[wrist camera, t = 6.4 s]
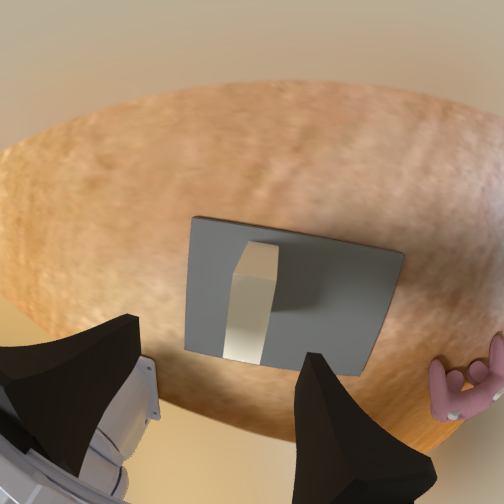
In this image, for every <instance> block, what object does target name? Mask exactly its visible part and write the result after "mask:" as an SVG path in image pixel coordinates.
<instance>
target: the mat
mask: <svg viewBox="0 0 504 504" xmlns="http://www.w3.org/2000/svg"><path fill="white" fill-rule="evenodd" d="M248 241H254V242H260V243H265V244H271V245H277V246H279V252H278V268H277V281H276V286H275V292H274V297H273V302H272V307H271V312H270V317H269V322H268V327H267V332H266V336H265V341H264V346H263V351H262V355H261V360H260V365H261V366H267V367H274V368H281V369H288V370H295V371H301V369H302V366H303V363H304V360H305V357H306V354H307V352H313V353H321V354H322V355H323V357H324V358H325V360H326V361H327V363H328V365H329V366H330V368H331V369H332V371H333V372H334V374H335V375H345V376H360V375H361V372H362V370H363V368H364V366H365V364H366V362H367V359H368V357H369V355H370V352H371V350H372V348H373V345H374V343H375V341H376V338H377V336H378V333H379V331H380V328H381V326H382V323H383V320H384V318H385V315H386V312H387V309H388V307H389V304H390V301H391V298H392V295H393V292H394V289H395V286H396V283H397V280H398V277H399V273H400V270H401V267H402V263H403V260H404V256H405V255H404V254H403V253H401V252H396V251H391V250H386V249H381V248H376V247H371V246H366V245H361V244H355V243H350V242H345V241H339V240H334V239H329V238H323V237H318V236H312V235H306V234H301V233H295V232H289V231H283V230H278V229H272V228H266V227H260V226H253V225H247V224H241V223H235V222H228V221H222V220H216V219H209V218H202V217H196V216H194V217H192V221H191V232H190V244H189V257H188V272H187V289H186V311H185V348H184V350H188V351H192V352H196V353H200V354H205V355H209V356H214V357H218V358H223V352H224V343H225V335H226V326H227V318H228V310H229V301H230V293H231V285H232V278H233V272H234V270H235V268H236V266H237V264H238V262H239V260H240V258H241V256H242V254H243V252H244V250H245V248H246V246H247V243H248ZM223 359H225V358H223ZM228 360H230V359H228ZM233 361H236V360H233ZM238 362H241V361H238ZM244 363H246V362H244ZM249 364H252V363H249ZM255 365H258V364H255Z"/></svg>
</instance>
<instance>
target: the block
mask: <svg viewBox="0 0 504 504" xmlns="http://www.w3.org/2000/svg"><path fill="white" fill-rule="evenodd" d="M278 252H279V246H277V245H271V244H265V243H260V242H254V241H248V243H247V246H246V248H245V250H244V252H243V254H242V256H241V258H240V260H239V262H238V264H237V266H236V268H235V270H234V272H233V278H232V285H231V293H230V301H229V310H228V318H227V326H226V335H225V343H224V352H223V358H225V359H230V360H236V361H241V362H246V363H252V364H258V365H260V360H261V355H262V351H263V346H264V341H265V336H266V332H267V327H268V322H269V317H270V312H271V307H272V302H273V297H274V292H275V286H276V281H277V268H278Z"/></svg>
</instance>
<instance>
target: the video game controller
mask: <svg viewBox="0 0 504 504" xmlns="http://www.w3.org/2000/svg"><path fill="white" fill-rule="evenodd" d="M466 378H467V380H468V382H469V383H470V384H472V385H473V386H474V387H473V388H471V389H468V390H465V391H462V392H461V389H462V387H463V384H464V377H463V374H462V373H461V372H460V371H457V370H454V371H451V372H449V373H448V374H447V375H445V369H444V367H443V365H442V363H441V362H440V361H439V360H438V359H434V360H433V361H432V362H431V364H430V368H429V391H430V398H431V406H430V410H431V414H432V416H433V418H434V419H435V420H437V421H440V422H446V421H460V420H465V419H468V418H471V417H473V416H475V415H477V414H479V413H481V412H482V411H484V410H485V409H487V408H488V407H489V406H490V405H491V404H492V403H493V402H495V401H496V400H497V399H498V398H499V397H500V396H501V394H502V393H503V392H504V341H503V339H502V338H501V336H499V335H496V336H494V337H493V339H492V342H491V345H490V352H489V367H488V368H487V367H486V366H485V365H484V364H483V363H482V362H481V361H475V362H474V363H473V364H472V365H471V366H470V367H469V368H468V369H467V371H466Z"/></svg>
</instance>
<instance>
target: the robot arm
mask: <svg viewBox="0 0 504 504" xmlns="http://www.w3.org/2000/svg"><path fill="white" fill-rule="evenodd" d="M140 355H141V342H140V328H139V317H137V316H134V315H131V314H124V315H121V316H119V317H116V318H114V319H112V320H109V321H107V322H105V323H103V324H100V325H98V326H96V327H93V328H91V329H88V330H86V331H83V332H80V333H78V334H75V335H72V336H69V337H66V338H63V339H60V340H56V341H52V342H47V343H41V344H36V345H29V346H18V347H17V346H16V347H0V489H1V490H2V491H3V492H4V493H5V494H6V496H5V497H4V499H3V500H2V501H1V503H0V504H130V503H127V502H125V501H123V499H124V497H125V495H126V492H127V489H128V485H129V479H128V473H127V470H126V468H125V467H123V466H122V464H123V462H124V461H126V460H127V459H129V458H130V457H131V456H132V455H133V453H134V452H135V450H136V448H137V446H138V444H139V442H140V440H141V438H142V436H143V434H144V432H145V430H146V428H147V426H148V424H149V422H150V420H151V419H154V420H157V421H159V420H160V418H161V416H160V408H159V400H158V391H157V381H156V370H155V362H154V361H153V360H152V359H149V358H146V357H143V356H140ZM294 416H295V432H296V449H297V458H296V471H295V482H294V491H293V498H292V504H414V501H415V500H416V499H417V498H419V497H420V496H421V495H423V494H424V493H425V492H426V491H428V490H429V489H430V488H431V487H432V486H433V485H434V484H435V482H436V480H437V475H436V471H435V469H434V466H433V463H432V460H431V458H430V457H428V456H426V455H424V454H422V453H420V452H418V451H416V450H414V449H412V448H410V447H409V446H407V445H405V444H404V443H402V442H401V441H399V440H398V439H396V438H395V437H393V436H392V435H390V434H389V433H388V432H387V431H385V430H384V429H383V428H382V427H380V426H379V425H378V424H377V423H376V422H375V421H373V420H372V419H371V418H370V417H369V416H368V415H367V414H366V413H365V412H364V411H363V410H362V409H361V408H360V407H359V405H358V404H357V403H356V402H355V401H354V400H353V398H352V397H351V396H350V395H349V394H348V392H347V391H346V390H345V388H344V387H343V385H342V384H341V383H340V381H339V380H338V378H337V377H336V375H335V374H334V372H333V371H332V369H331V368H330V366H329V365H328V363H327V361H326V360H325V358H324V357H323V355H322V354H321V353H313V352H307V354H306V357H305V360H304V363H303V366H302V369H301V372H300V375H299V377H298V380H297V383H296V386H295V398H294Z"/></svg>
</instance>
